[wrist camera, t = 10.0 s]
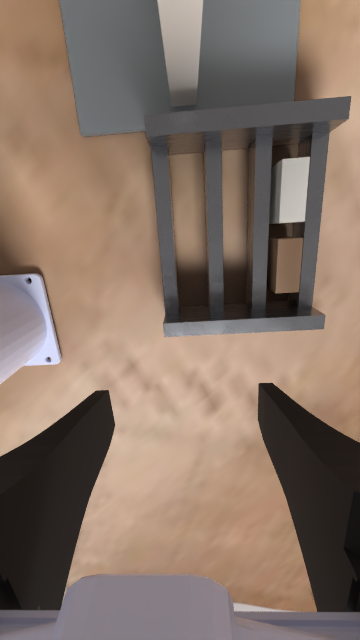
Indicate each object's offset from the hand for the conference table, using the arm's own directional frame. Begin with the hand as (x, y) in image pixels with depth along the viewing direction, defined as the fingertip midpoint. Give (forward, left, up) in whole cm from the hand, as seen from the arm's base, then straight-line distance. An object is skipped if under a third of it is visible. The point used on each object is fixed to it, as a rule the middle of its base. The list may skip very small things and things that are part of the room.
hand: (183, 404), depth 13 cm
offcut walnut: (+7, +5, -11) cm, 14 cm away
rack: (+4, +7, -10) cm, 13 cm away
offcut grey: (+7, +10, -11) cm, 16 cm away
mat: (+1, +19, -10) cm, 22 cm away
